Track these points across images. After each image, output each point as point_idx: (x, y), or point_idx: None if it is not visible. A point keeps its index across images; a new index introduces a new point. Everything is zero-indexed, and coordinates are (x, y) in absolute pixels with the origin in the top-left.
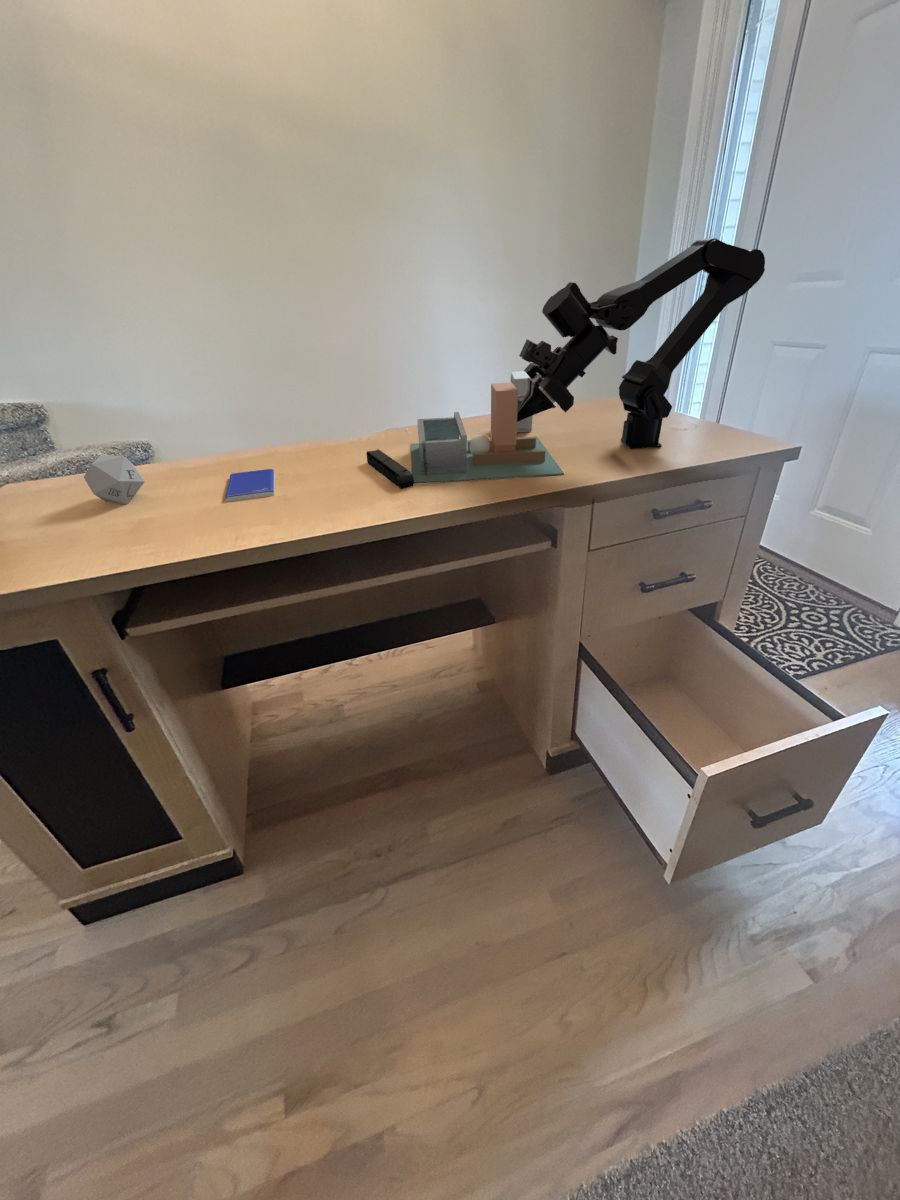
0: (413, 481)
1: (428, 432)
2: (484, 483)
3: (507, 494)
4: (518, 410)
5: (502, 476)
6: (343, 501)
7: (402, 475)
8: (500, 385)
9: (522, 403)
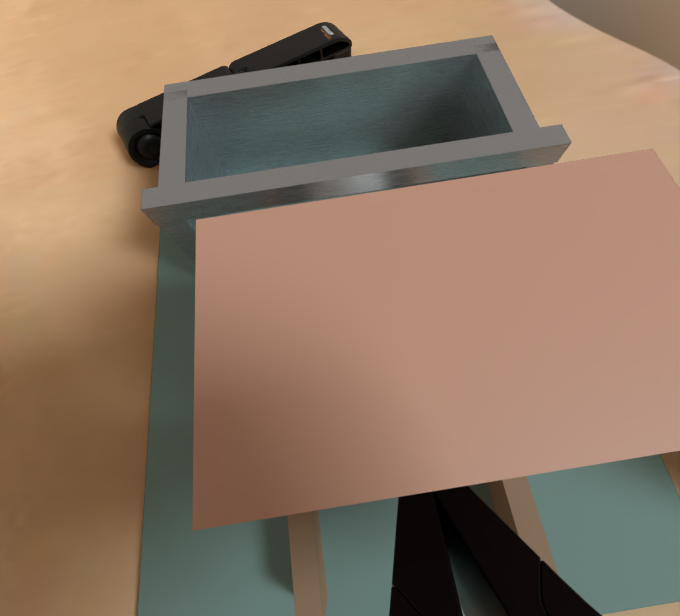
0: (132, 158)
1: (466, 112)
2: (126, 342)
3: (12, 417)
4: (429, 495)
5: (154, 399)
6: (99, 68)
7: (121, 122)
8: (545, 256)
9: (479, 553)
